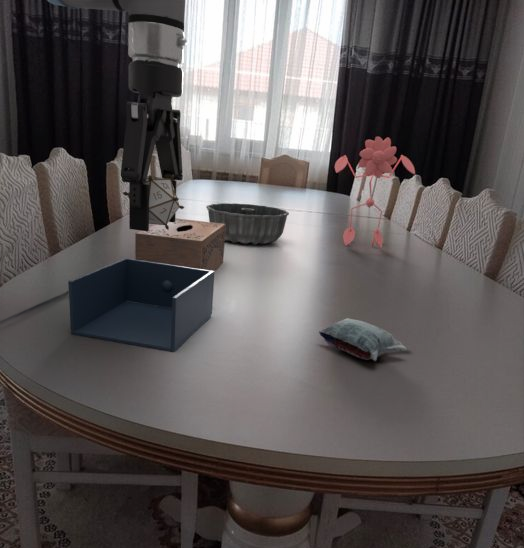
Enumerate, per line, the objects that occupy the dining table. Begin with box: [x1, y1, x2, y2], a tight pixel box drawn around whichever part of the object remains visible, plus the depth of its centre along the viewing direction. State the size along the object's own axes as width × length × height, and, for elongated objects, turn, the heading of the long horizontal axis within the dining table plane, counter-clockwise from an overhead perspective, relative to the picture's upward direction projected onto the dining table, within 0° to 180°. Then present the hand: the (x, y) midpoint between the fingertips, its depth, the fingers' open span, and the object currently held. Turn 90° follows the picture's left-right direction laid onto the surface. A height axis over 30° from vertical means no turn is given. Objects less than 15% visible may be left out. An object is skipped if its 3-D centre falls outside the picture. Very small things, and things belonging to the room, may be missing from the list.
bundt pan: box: [205, 202, 290, 246], centre depth 167 cm, size 26×26×10 cm
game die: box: [122, 174, 185, 230], centre depth 79 cm, size 9×8×10 cm
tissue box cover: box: [134, 217, 226, 273], centre depth 123 cm, size 26×14×10 cm, turn 173°
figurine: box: [334, 136, 416, 254], centre depth 168 cm, size 15×26×35 cm, turn 94°
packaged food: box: [318, 317, 407, 362], centre depth 84 cm, size 9×12×5 cm
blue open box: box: [67, 257, 215, 353], centre depth 92 cm, size 30×17×8 cm, turn 167°
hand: (153, 225), depth 81 cm, fingers closed on game die, 10 cm apart
